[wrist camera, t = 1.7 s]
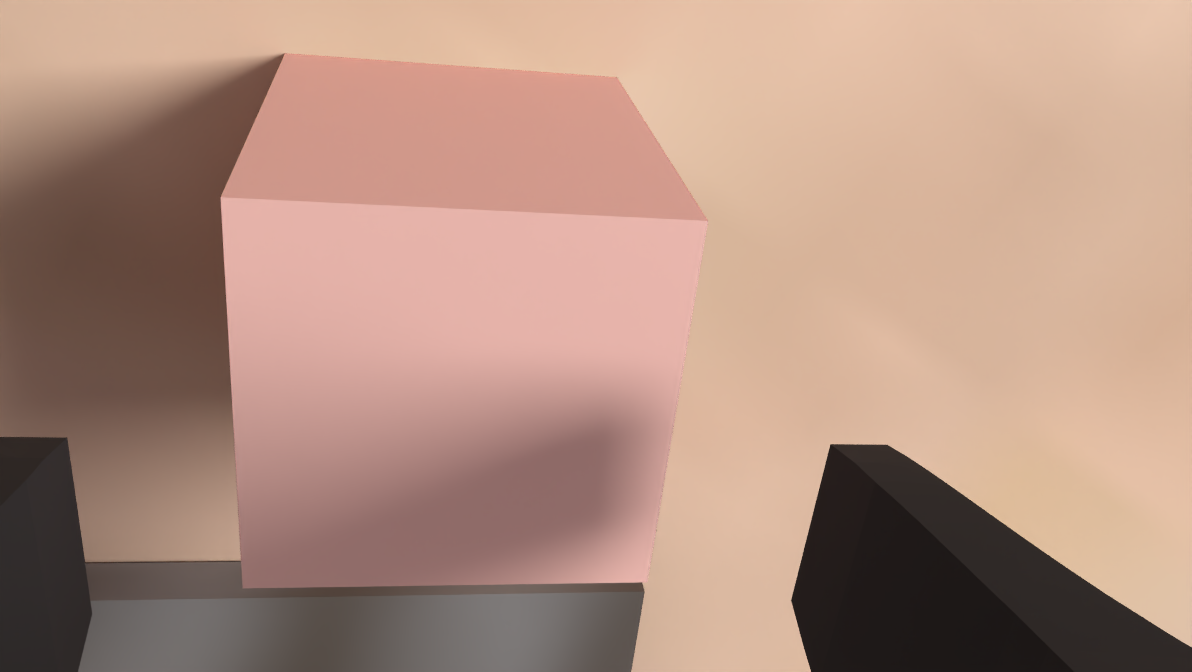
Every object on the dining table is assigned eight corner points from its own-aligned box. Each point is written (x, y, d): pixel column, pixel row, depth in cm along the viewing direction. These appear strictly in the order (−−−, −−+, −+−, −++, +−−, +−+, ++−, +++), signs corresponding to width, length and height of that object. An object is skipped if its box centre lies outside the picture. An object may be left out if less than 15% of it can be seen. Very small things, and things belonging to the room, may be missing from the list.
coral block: (616, 76, 17) (707, 220, 11) (583, 355, 19) (647, 582, 14) (285, 52, 16) (220, 197, 11) (293, 348, 18) (242, 588, 13)
